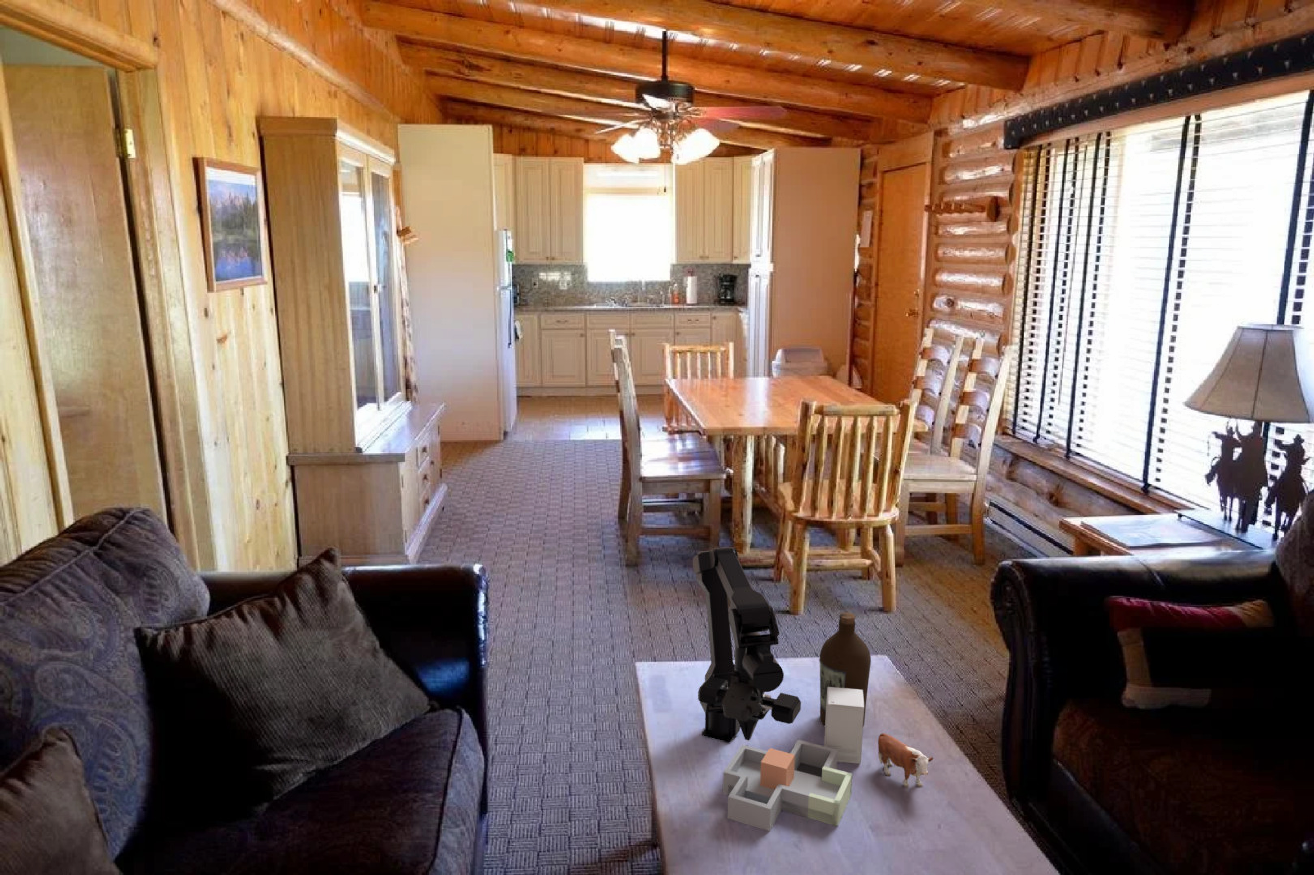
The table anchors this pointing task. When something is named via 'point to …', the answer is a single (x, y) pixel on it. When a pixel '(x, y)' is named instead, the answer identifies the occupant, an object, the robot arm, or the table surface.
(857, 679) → the olive oil
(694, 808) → the table surface
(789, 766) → the block
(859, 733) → the supplement box
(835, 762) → the trap lane
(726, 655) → the robot arm
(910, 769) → the bull figurine
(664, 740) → the table surface
